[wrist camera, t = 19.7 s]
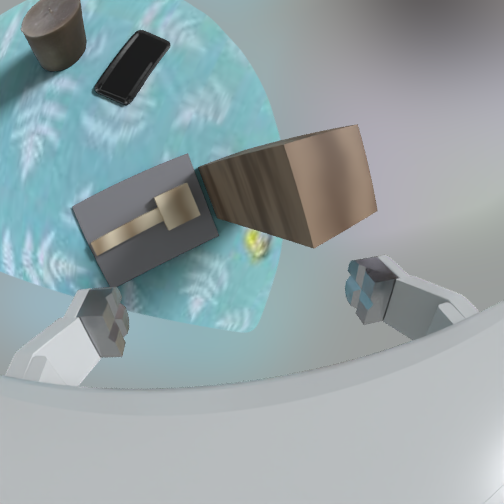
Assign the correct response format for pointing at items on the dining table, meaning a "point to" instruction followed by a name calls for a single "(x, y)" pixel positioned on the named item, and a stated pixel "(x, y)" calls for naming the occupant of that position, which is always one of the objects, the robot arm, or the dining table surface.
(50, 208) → the dining table surface
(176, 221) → the beech spatula
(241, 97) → the dining table surface
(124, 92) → the phone
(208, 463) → the robot arm
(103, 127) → the dining table surface
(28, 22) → the pillar candle
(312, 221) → the walnut stand
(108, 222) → the rubber mat
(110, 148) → the dining table surface
